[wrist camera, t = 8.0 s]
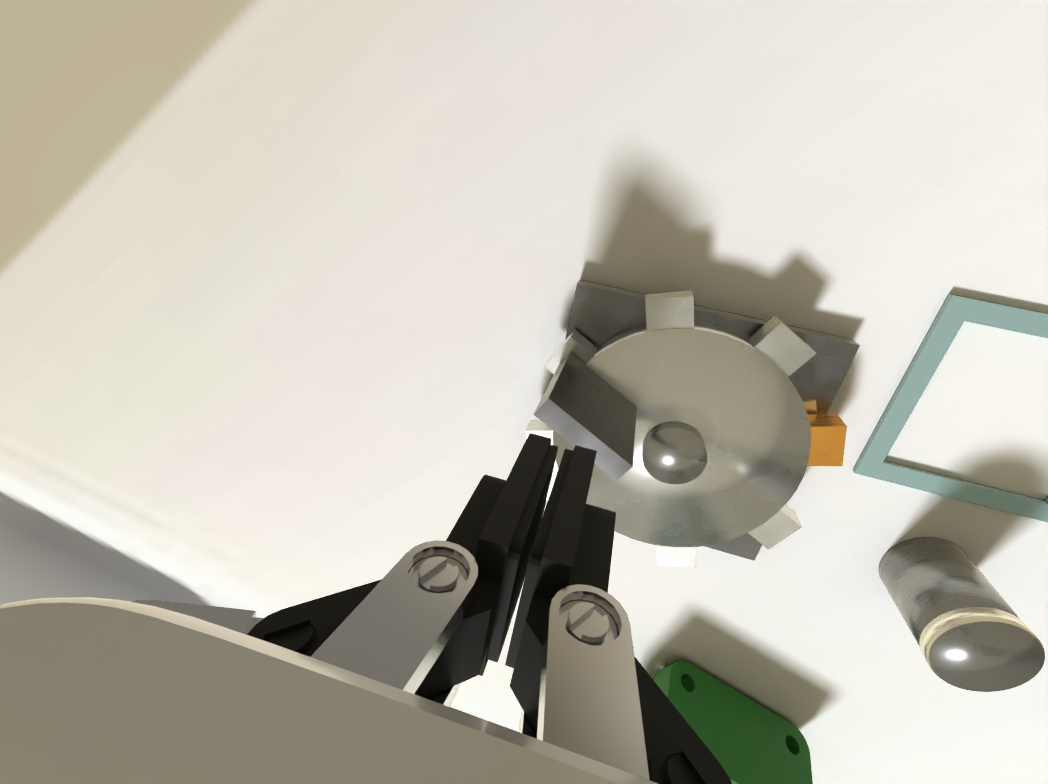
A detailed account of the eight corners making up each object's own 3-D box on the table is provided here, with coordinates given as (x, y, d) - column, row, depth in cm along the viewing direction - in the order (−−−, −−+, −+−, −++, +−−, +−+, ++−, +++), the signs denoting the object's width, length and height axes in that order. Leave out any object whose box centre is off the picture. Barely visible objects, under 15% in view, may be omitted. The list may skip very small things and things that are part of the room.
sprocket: (666, 222, 23) (671, 239, 17) (909, 431, 24) (1008, 528, 18) (482, 436, 30) (433, 510, 24) (676, 591, 32) (683, 703, 25)
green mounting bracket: (656, 646, 41) (597, 732, 35) (699, 622, 38) (642, 713, 31) (771, 778, 38) (728, 900, 32) (833, 767, 34) (798, 903, 28)
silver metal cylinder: (987, 550, 27) (1069, 641, 22) (944, 607, 29) (1010, 704, 24) (900, 527, 28) (959, 610, 22) (863, 584, 30) (910, 673, 24)
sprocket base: (852, 339, 25) (860, 346, 24) (751, 549, 31) (754, 561, 30) (579, 279, 27) (577, 283, 26) (535, 487, 33) (531, 497, 32)
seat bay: (1197, 343, 21) (1204, 345, 21) (1054, 521, 26) (1058, 525, 25) (949, 293, 23) (952, 295, 23) (852, 470, 27) (854, 472, 27)
